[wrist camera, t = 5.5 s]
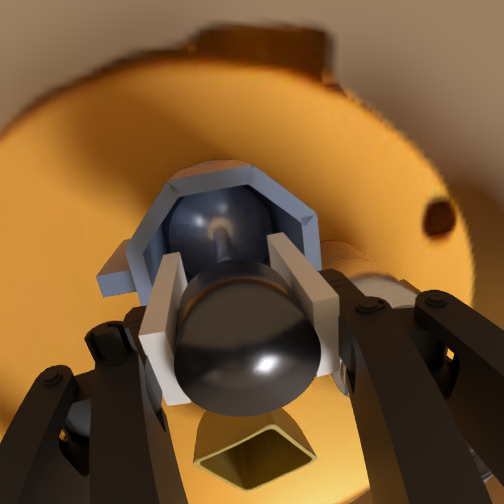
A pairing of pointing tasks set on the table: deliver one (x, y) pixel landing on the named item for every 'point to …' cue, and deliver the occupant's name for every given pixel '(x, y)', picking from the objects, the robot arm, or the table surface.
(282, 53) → the table surface
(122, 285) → the blue mug
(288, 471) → the flower pot
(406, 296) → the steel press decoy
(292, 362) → the plunger
